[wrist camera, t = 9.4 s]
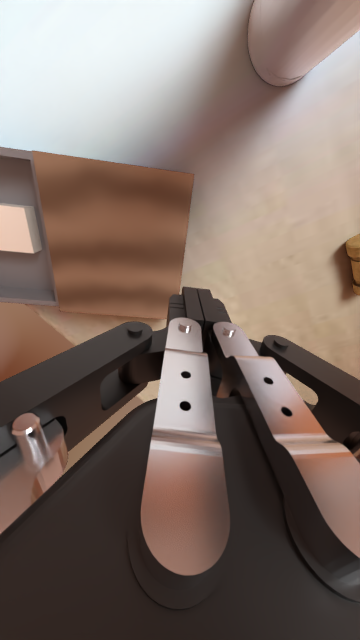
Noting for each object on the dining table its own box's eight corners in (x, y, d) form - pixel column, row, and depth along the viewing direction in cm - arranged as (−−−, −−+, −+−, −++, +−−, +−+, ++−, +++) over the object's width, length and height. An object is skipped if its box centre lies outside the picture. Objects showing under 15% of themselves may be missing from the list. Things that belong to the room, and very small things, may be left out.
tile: (24, 207, 29) (33, 206, 32) (-25, 202, 29) (-12, 201, 31) (33, 253, 32) (42, 249, 35) (-11, 249, 32) (0, 245, 34)
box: (-74, 138, 28) (-114, 130, 24) (53, 157, 29) (36, 152, 25) (-21, 287, 38) (-42, 298, 34) (72, 295, 39) (61, 306, 35)
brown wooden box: (55, 157, 29) (32, 150, 24) (189, 176, 31) (194, 174, 26) (74, 295, 39) (60, 311, 34) (174, 303, 41) (175, 320, 36)
